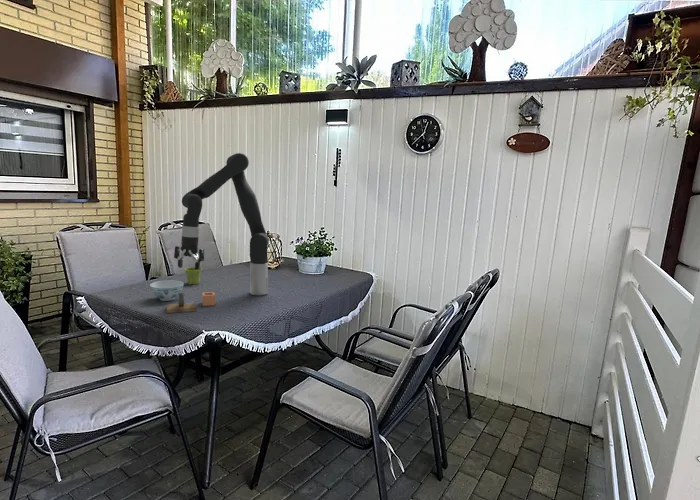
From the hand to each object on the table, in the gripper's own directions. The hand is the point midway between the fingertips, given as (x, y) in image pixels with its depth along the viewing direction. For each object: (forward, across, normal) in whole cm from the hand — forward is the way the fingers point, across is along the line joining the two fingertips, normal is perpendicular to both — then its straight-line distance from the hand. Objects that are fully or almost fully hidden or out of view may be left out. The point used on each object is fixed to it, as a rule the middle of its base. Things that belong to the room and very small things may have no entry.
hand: (188, 268), depth 187 cm
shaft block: (+17, -4, +11) cm, 21 cm away
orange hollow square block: (+16, -12, 0) cm, 20 cm away
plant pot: (+16, +15, -32) cm, 39 cm away
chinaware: (+17, +11, -1) cm, 20 cm away
